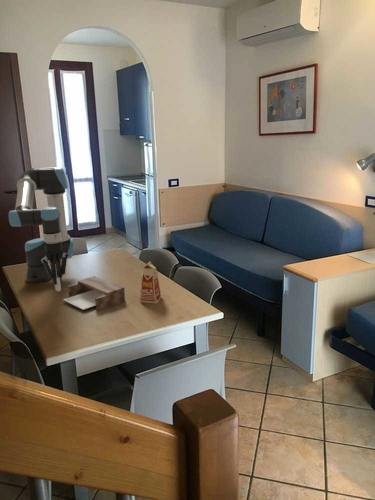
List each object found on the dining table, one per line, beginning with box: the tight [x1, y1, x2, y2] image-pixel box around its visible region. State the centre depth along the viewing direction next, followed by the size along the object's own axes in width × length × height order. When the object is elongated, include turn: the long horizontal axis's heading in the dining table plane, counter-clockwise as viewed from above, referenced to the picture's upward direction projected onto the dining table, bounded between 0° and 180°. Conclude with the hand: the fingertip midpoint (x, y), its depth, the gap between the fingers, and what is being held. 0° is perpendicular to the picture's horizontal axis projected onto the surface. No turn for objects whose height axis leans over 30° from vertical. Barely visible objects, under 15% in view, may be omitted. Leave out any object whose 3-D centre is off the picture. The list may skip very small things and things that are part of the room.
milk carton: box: [138, 261, 162, 304], centre depth 203 cm, size 9×9×20 cm
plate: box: [62, 290, 106, 311], centre depth 204 cm, size 19×19×2 cm
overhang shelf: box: [67, 275, 126, 312], centre depth 207 cm, size 16×26×7 cm, turn 46°
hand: (58, 290), depth 192 cm, fingers closed
